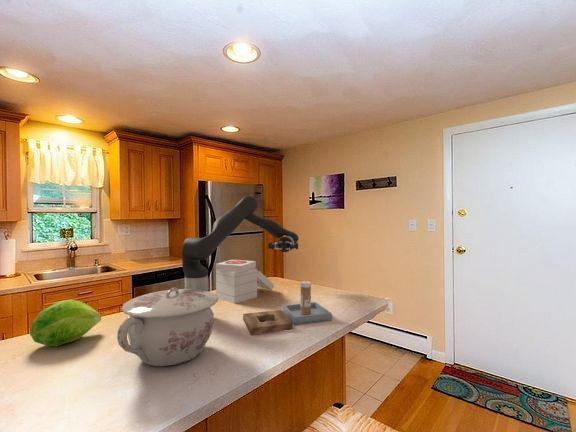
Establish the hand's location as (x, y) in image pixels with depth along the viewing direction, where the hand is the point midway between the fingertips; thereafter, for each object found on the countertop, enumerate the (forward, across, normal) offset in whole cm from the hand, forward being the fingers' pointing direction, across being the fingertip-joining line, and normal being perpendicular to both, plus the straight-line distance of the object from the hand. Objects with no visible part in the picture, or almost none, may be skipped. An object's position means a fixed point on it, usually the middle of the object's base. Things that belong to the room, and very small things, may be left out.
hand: (281, 247), depth 136 cm
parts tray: (+9, +12, +28) cm, 32 cm away
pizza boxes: (-19, -22, +28) cm, 41 cm away
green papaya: (+43, -67, +28) cm, 85 cm away
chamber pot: (+48, -27, +28) cm, 62 cm away
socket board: (+20, -3, +28) cm, 35 cm away
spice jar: (+9, +12, +27) cm, 31 cm away
